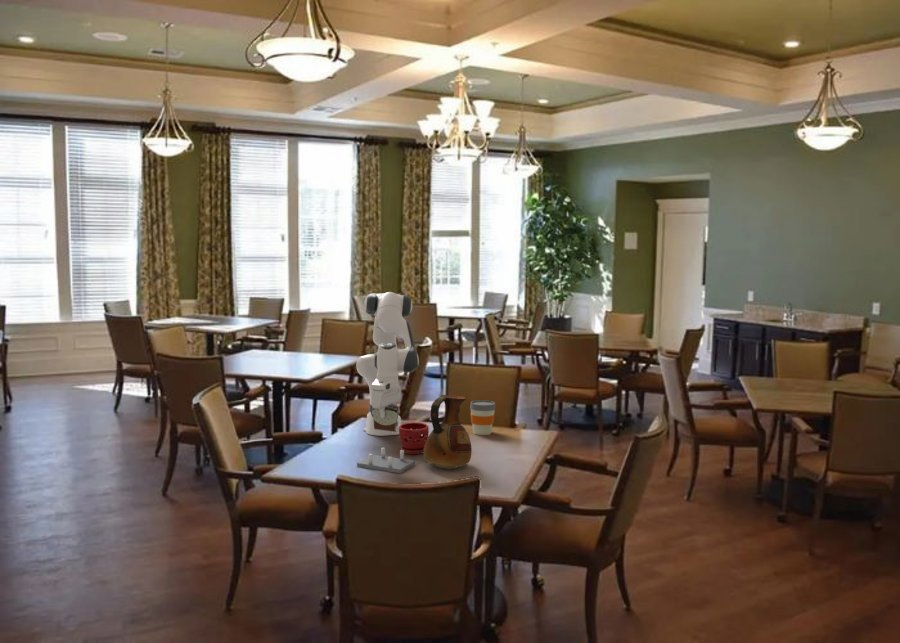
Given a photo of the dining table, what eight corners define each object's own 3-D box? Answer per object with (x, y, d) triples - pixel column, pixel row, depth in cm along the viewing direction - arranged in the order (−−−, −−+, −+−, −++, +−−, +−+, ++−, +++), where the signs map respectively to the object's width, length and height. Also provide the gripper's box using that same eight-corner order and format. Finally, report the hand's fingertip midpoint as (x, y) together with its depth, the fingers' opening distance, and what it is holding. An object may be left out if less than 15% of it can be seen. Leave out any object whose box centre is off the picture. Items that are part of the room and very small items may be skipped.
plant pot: (409, 446, 354) (409, 420, 353) (433, 451, 348) (434, 424, 346) (392, 452, 343) (393, 426, 342) (417, 457, 336) (418, 430, 335)
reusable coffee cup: (466, 434, 378) (467, 404, 377) (473, 428, 390) (473, 399, 389) (491, 436, 375) (492, 406, 373) (497, 430, 387) (498, 401, 385)
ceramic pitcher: (480, 466, 325) (482, 396, 322) (446, 476, 311) (447, 402, 308) (448, 456, 339) (449, 389, 336) (413, 465, 325) (414, 394, 322)
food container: (403, 429, 324) (404, 405, 322) (398, 432, 318) (399, 408, 317) (376, 425, 327) (377, 402, 326) (370, 428, 321) (371, 405, 320)
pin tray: (373, 458, 334) (373, 445, 333) (415, 464, 326) (415, 451, 326) (357, 466, 321) (357, 453, 321) (400, 473, 313) (400, 459, 313)
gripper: (392, 378, 331) (391, 409, 332) (368, 385, 312) (368, 419, 314) (405, 379, 328) (404, 411, 330) (382, 387, 310) (382, 421, 311)
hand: (386, 415), depth 322 cm, fingers closed on food container, 5 cm apart
